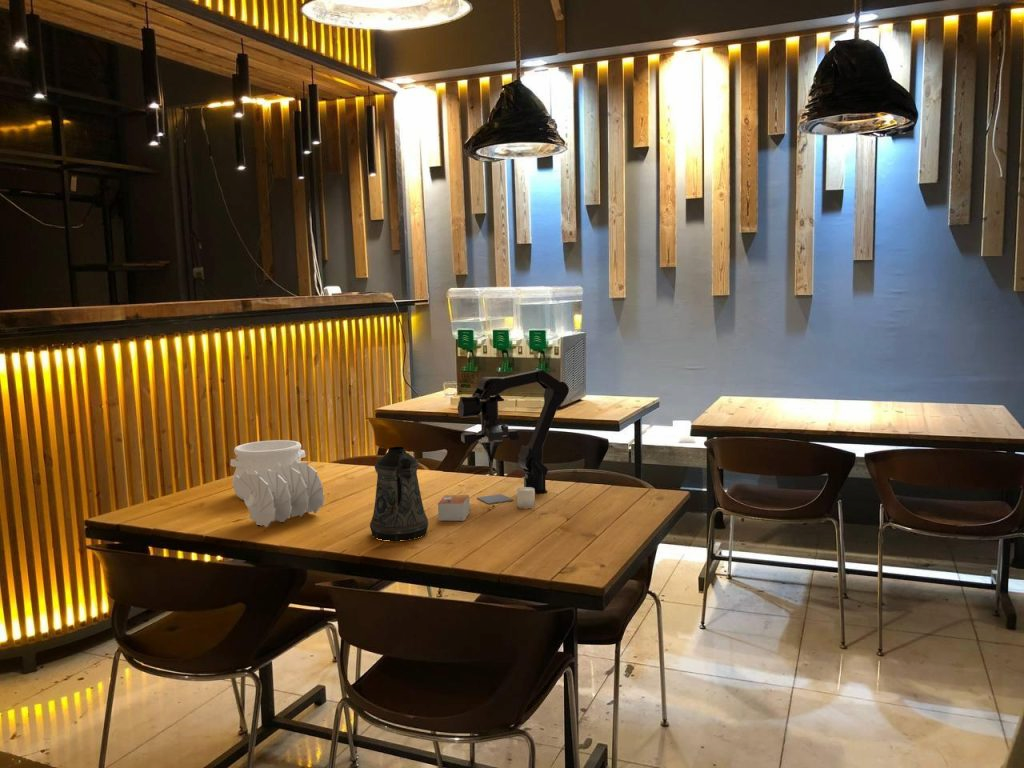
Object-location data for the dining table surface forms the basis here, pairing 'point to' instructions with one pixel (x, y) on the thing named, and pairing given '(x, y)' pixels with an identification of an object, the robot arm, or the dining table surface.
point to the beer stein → (398, 498)
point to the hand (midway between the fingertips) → (490, 461)
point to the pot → (265, 456)
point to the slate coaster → (495, 499)
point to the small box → (453, 508)
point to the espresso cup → (526, 497)
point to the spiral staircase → (280, 492)
